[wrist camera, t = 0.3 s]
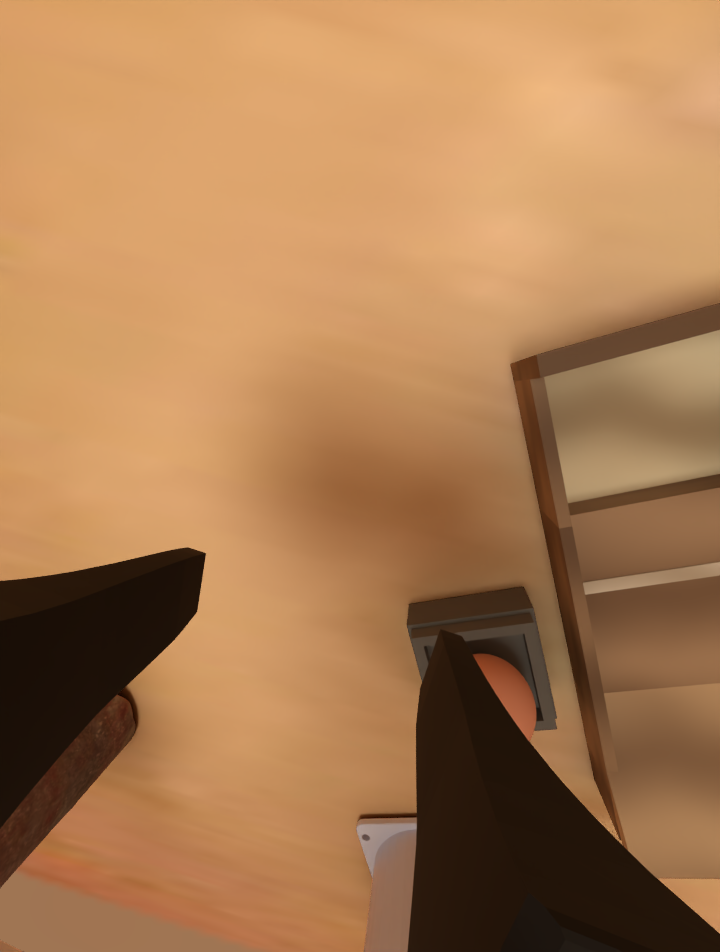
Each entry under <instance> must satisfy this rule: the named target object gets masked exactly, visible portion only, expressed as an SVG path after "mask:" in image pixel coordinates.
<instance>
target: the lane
mask: <svg viewBox="0 0 720 952" xmlns="http://www.w3.org/2000/svg"><path fill="white" fill-rule="evenodd" d="M511 369H512V374H513V379H514V384H515V389H516V394H517V399H518V404H519V409H520V414H521V419H522V424H523V428H524V433H525V438H526V443H527V448H528V453H529V458H530V463H531V468H532V473H533V478H534V483H535V488H536V493H537V498H538V503H539V508H540V513H541V518H542V523H543V528H544V533H545V537H546V542H547V547H548V552H549V557H550V562H551V567H552V572H553V577H554V582H555V587H556V592H557V597H558V602H559V607H560V612H561V617H562V622H563V627H564V632H565V637H566V641H567V646H568V651H569V656H570V661H571V666H572V671H573V676H574V681H575V686H576V691H577V696H578V701H579V706H580V711H581V716H582V721H583V726H584V731H585V736H586V741H587V745H588V750H589V755H590V760H591V765H592V770H593V775H594V780H595V782H596V784H597V787H598V789H599V791H600V794H601V796H602V799H603V801H604V803H605V806H606V808H607V810H608V813H609V815H610V818H611V820H612V822H613V825H614V827H615V829H616V832H617V834H618V837H619V839H620V840H622V844H623V846H624V847H625V848H626V849H627V850H628V851H629V852H630V853H631V854H632V855H633V856H634V857H635V858H636V859H637V860H638V861H639V862H640V863H641V864H642V865H643V866H644V867H645V868H646V869H647V870H648V871H650V872H651V873H652V874H653V875H654V876H655V877H656V878H673V879H720V303H719V304H715V305H712V306H708V307H705V308H701V309H697V310H694V311H690V312H687V313H683V314H680V315H676V316H673V317H669V318H666V319H662V320H658V321H655V322H651V323H648V324H644V325H641V326H637V327H634V328H630V329H627V330H623V331H619V332H616V333H612V334H609V335H605V336H602V337H598V338H595V339H591V340H587V341H584V342H580V343H577V344H573V345H570V346H566V347H563V348H559V349H556V350H552V351H548V352H545V353H541V354H538V355H535V356H532V357H529V358H526V359H524V360H521V361H518V362H515V363H512V364H511Z"/></svg>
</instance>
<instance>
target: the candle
mask: <svg viewBox="0 0 720 952" xmlns="http://www.w3.org/2000/svg"><path fill="white" fill-rule="evenodd" d="M135 727H136V726H135V720H134V719H133V713H132V708H131V705H130V702H129V701H128V700H126V699H125V698H123V697H121V696H119V695H116V696H115V697H114V698H113V699H112V700H111V701H110V702H109V703H108V704H107V705H106V706H105V707H104V708H103V709H102V710H101V711H100V712H99V713H98V714H97V715H96V716H95V717H94V718H93V719H92V721H91V722H90V723H89V724H88V725H87V726H86V727H85V728H84V730H83V731H82V732H81V733H80V734H79V735H78V736H77V738H76V739H75V740H74V741H73V742H72V743H71V744H70V745H69V747H68V748H67V749H66V750H65V751H64V752H63V753H62V755H61V756H60V757H59V758H58V759H57V761H56V762H55V763H54V764H53V765H52V766H51V768H50V769H49V770H48V771H47V772H46V774H45V775H44V776H43V777H42V778H41V780H40V781H39V782H38V783H37V784H36V785H35V787H34V788H33V789H32V790H31V791H30V793H29V794H28V795H27V796H26V797H25V799H24V800H23V801H22V802H21V804H20V805H19V806H18V807H17V809H16V810H15V811H14V812H13V814H12V815H11V816H10V817H9V819H8V820H7V821H6V822H5V824H4V825H3V826H2V827H1V829H0V888H1V887H2V885H3V884H4V883H5V882H6V881H7V880H8V878H9V877H10V876H11V875H12V874H13V873H14V872H15V871H16V869H17V868H18V867H19V866H20V865H21V864H22V863H23V861H24V860H25V859H26V858H27V857H28V856H29V855H30V854H31V853H32V851H33V850H34V849H35V848H36V847H37V846H38V845H39V844H40V842H41V841H42V840H43V839H44V838H45V837H46V836H47V835H48V833H49V832H50V831H51V830H52V829H53V828H54V827H55V826H56V825H57V823H58V822H59V821H60V820H61V819H62V818H63V817H64V816H65V815H66V814H67V813H68V812H69V811H70V810H71V809H72V808H73V806H74V805H75V804H76V802H77V801H78V800H79V799H80V798H81V797H82V795H83V794H84V793H85V792H86V791H87V790H88V788H89V787H90V786H91V785H92V784H93V783H94V782H95V780H96V779H97V778H98V777H99V776H100V774H101V773H102V772H103V771H104V770H105V769H106V768H107V766H108V765H109V764H110V763H111V762H112V761H113V760H114V758H115V757H116V756H117V755H118V754H119V753H120V752H121V750H122V749H123V748H124V747H125V746H126V745H127V744H128V742H129V741H130V740H131V739H132V737H133V734H134V732H135Z"/></svg>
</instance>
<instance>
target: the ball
mask: <svg viewBox="0 0 720 952" xmlns="http://www.w3.org/2000/svg"><path fill="white" fill-rule="evenodd" d="M473 656H474V658H475V660H476V661H477V663H478V665H479V667H480V668H481V670H482V672H483V673H484V675H485V677H486V679H487V680H488V682H489V683H490V685H491V687H492V688H493V690H494V691H495V693H496V695H497V696H498V698H499V699H500V701H501V702H502V704H503V705H504V707H505V708H506V710H507V711H508V713H509V714H510V716H511V717H512V718H513V720H514V721H515V723H516V724H517V726H518V727H519V728H520V730H521V731H522V733H523V734H524V735H525V737H526V738H527V739H528V741H530V739H531V737H532V735H533V732H534V729H535V725H536V705H535V700H534V697H533V694H532V691H531V689H530V687H529V685H528V683H527V682H526V680H525V679H524V677H523V676H522V675H521V673H520V672H519V671H518V670H517V669H516V668H515V667H514V666H513V665H511V664H510V663H508V662H507V661H505V660H503V659H502V658H499V657H497V656H494V655H490V654H482V653H479V654H473Z"/></svg>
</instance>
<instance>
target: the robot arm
mask: <svg viewBox="0 0 720 952" xmlns="http://www.w3.org/2000/svg"><path fill="white" fill-rule="evenodd" d="M205 556H206V553H203V552H200V551H197V550H194V549H191V548H180V549H175V550H170V551H165V552H161V553H156V554H152V555H148V556H144V557H139V558H135V559H131V560H126V561H122V562H118V563H113V564H108V565H103V566H99V567H94V568H89V569H84V570H79V571H74V572H68V573H62V574H56V575H49V576H42V577H34V578H27V579H18V580H7V581H0V829H1V827H2V826H3V825H4V824H5V822H6V821H7V820H8V819H9V817H10V816H11V815H12V814H13V812H14V811H15V810H16V809H17V807H18V806H19V805H20V804H21V802H22V801H23V800H24V799H25V797H26V796H27V795H28V794H29V793H30V791H31V790H32V789H33V788H34V787H35V785H36V784H37V783H38V782H39V781H40V780H41V778H42V777H43V776H44V775H45V774H46V772H47V771H48V770H49V769H50V768H51V766H52V765H53V764H54V763H55V762H56V761H57V759H58V758H59V757H60V756H61V755H62V753H63V752H64V751H65V750H66V749H67V748H68V747H69V745H70V744H71V743H72V742H73V741H74V740H75V739H76V738H77V736H78V735H79V734H80V733H81V732H82V731H83V730H84V728H85V727H86V726H87V725H88V724H89V723H90V722H91V721H92V719H93V718H94V717H95V716H96V715H97V714H98V713H99V712H100V711H101V710H102V709H103V708H104V707H105V706H106V705H107V704H108V703H109V702H110V701H111V700H112V699H113V698H114V697H115V696H116V695H117V694H118V693H119V692H120V691H121V690H122V689H123V688H125V687H126V686H127V685H128V684H129V683H130V682H131V681H132V680H133V679H134V678H135V677H136V676H137V675H138V674H139V673H140V672H141V671H142V670H144V669H145V668H146V667H147V666H148V665H149V664H150V663H151V662H152V661H153V660H154V659H155V658H156V657H157V656H158V655H159V654H160V653H161V652H162V651H163V650H164V649H165V648H166V647H167V646H169V645H170V644H171V643H172V642H173V641H174V640H175V638H176V637H177V636H178V635H179V634H180V632H181V631H182V630H183V629H184V628H185V626H186V625H187V624H188V623H189V621H190V620H191V619H192V618H193V616H194V615H195V614H196V612H197V609H198V602H199V595H200V589H201V582H202V576H203V569H204V562H205ZM416 784H417V817H414V818H372V819H360V820H359V821H358V822H357V827H356V831H357V834H358V837H359V840H360V843H361V846H362V849H363V852H364V855H365V858H366V861H367V864H368V867H369V870H370V873H371V876H372V879H373V880H372V888H371V896H370V905H369V913H368V921H367V929H366V938H365V946H364V952H720V934H719V933H718V932H717V931H716V930H715V929H714V928H713V927H711V926H710V925H709V924H708V923H707V922H706V921H705V920H703V919H702V918H701V917H700V916H699V915H698V914H697V913H696V912H694V911H693V910H692V909H691V908H690V907H689V906H688V905H686V904H685V903H684V902H683V901H682V900H681V899H680V898H678V897H677V896H676V895H675V894H674V893H673V892H672V891H671V890H669V889H668V888H667V887H666V886H665V885H664V884H663V883H661V882H660V881H659V880H658V879H657V878H656V877H655V876H654V875H653V874H652V873H651V872H650V871H648V870H647V869H646V868H645V867H644V866H643V865H642V864H641V863H640V862H639V861H638V860H637V859H636V858H635V857H634V856H633V855H632V854H631V853H630V852H629V851H628V850H627V849H626V848H625V847H624V846H623V845H622V844H621V843H619V842H618V841H617V840H616V839H615V838H614V837H613V836H612V835H611V834H610V833H609V832H608V830H607V829H606V828H605V827H604V826H603V825H602V824H601V823H600V822H599V821H598V820H597V819H596V818H595V817H594V816H593V815H592V814H591V813H590V812H589V811H588V810H587V809H586V807H585V806H584V805H583V804H582V803H581V802H580V801H579V800H578V799H577V798H576V797H575V795H574V794H573V793H572V792H571V791H570V790H569V789H568V788H567V787H566V786H565V784H564V783H563V782H562V781H561V780H560V779H559V778H558V776H557V775H556V774H555V773H554V772H553V771H552V769H551V768H550V767H549V766H548V764H547V763H546V762H545V761H544V759H543V758H542V757H541V756H540V754H539V753H538V752H537V751H536V749H535V748H534V747H533V746H532V745H531V743H530V742H529V741H528V739H527V738H526V737H525V735H524V734H523V733H522V731H521V730H520V728H519V727H518V726H517V724H516V723H515V721H514V720H513V718H512V717H511V716H510V714H509V713H508V711H507V710H506V708H505V707H504V705H503V704H502V702H501V701H500V699H499V698H498V696H497V695H496V693H495V691H494V690H493V688H492V687H491V685H490V683H489V682H488V680H487V679H486V677H485V675H484V673H483V672H482V670H481V668H480V667H479V665H478V663H477V661H476V660H475V658H474V656H473V654H472V653H471V651H470V649H469V647H468V646H467V644H466V642H465V640H464V639H463V637H462V636H460V635H457V634H454V633H451V632H448V631H445V630H442V629H440V631H439V634H438V637H437V640H436V643H435V646H434V649H433V652H432V655H431V658H430V661H429V664H428V667H427V670H426V673H425V676H424V679H423V682H422V685H421V688H420V695H419V704H418V713H417V723H416ZM0 952H23V951H21V950H19V949H17V948H15V947H13V946H11V945H9V944H7V943H5V942H3V941H1V940H0Z"/></svg>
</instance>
